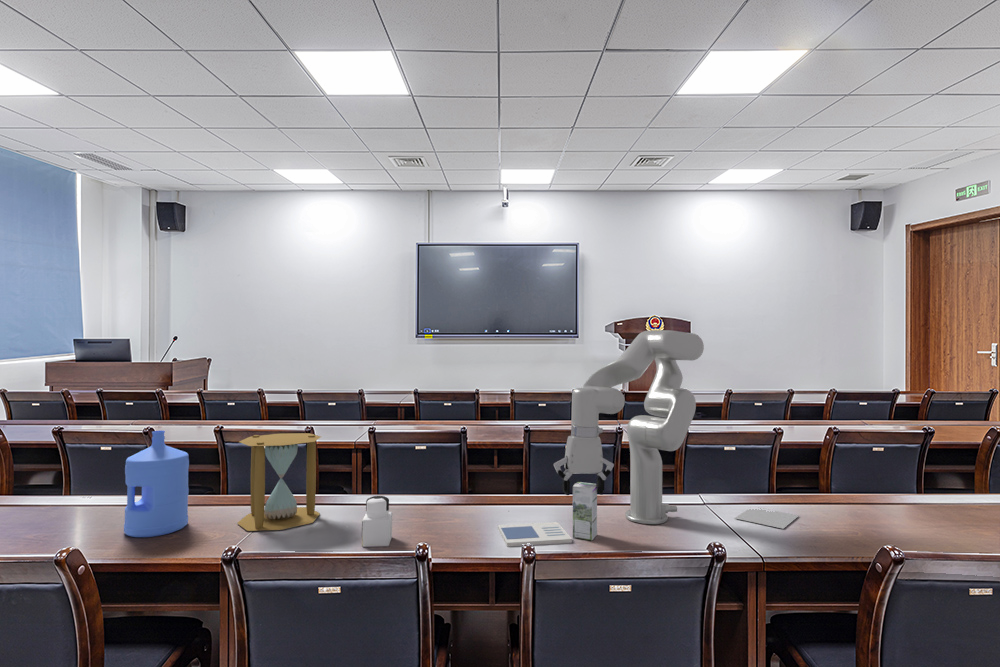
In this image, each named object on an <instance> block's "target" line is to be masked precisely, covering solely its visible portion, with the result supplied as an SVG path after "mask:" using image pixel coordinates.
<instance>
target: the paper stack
mask: <svg viewBox="0 0 1000 667" xmlns="http://www.w3.org/2000/svg"><path fill="white" fill-rule="evenodd" d="M759 508H760V509H761V508H762V507H759ZM748 509H749V508H748ZM748 509H746V510H745V511H743V512H741V513H740V514H739V515H736V516H735V517H734V519H736V520H742V521H745V522H750V523H755V524H758V525H759V524H760V525H764V526H768V527H774V528H779V529H785V528H786V527H787V526H788V525H790V524H791V523H792V522H793V521H795V520H796V519H797V518H798V517H799V516H800V515H799V514H793V513H789V512H788V513H787V512H783V511H778V510H774V511H775V512H773V511H772V512H771V511H770V512H769V511H767V512H766V510H762V509H761V510H759V509H758V510H757V509H755V510H754V509H752V510H751V509H749V510H748Z"/></svg>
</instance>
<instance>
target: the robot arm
mask: <svg viewBox="0 0 1000 667" xmlns="http://www.w3.org/2000/svg"><path fill="white" fill-rule="evenodd" d="M704 345H705V344H704V341H703V339H702V338H701V336H699V335H698V334H696V333H691V332H685V331H678V330H669V329H666V330H663V329H662V330H661V329H659V330H657V329H656V330H655V329H654V330H644V331H642V332H639V334H638V335H637V336H636V337H635V338H634V339H633V340H632V342H631V343H630V344H629V345H628V347H627V348H626V349H625V350H624V352H623V353H622V354H621V355H620V356H619V357H618V359H616V360H613V361H612V362H610V363H608V364H606V365H605V366H603V367H601V368H599V369H598V370H596V371H595V372H594V373H593V374H591V376H589V377H588V379H587V380H586V381H585V382H584V383H583V384H582V386H581V387H576V388H574V389H573V390H572V393H571V421H570V422H571V426H570V429H571V430H570V432H571V433H570V435H568V436H567V439H566V445H565V452H564V453H565V454H564V457H563V458H561V459H560V460H557V461H555V462H554V463H553V467H554V469H555V472H556V474H557V475H559V476H560V478H561V479H562V488H561V489H562V492H563V493H564V494H565V495H566V496H570V494H571V490H570V488H571V481H570V480H569V479H570V478H571V477H572V476H573V474H574V475H575V474H576V475H578V474H579V475H581V474H584V475H585V474H586V475H587V474H589V475H590V474H591V475H592V474H595V475H597V476H598V477H596V484H597V494H599V495H603V494H604V491H605V481H606V480H607V477H609V476H610V474H611V472H612V470H613V468H614V466H615V464H614V463H613V462H611V461H609V460H608V459H606V458H604V455H603V447H602V440H601V437H600V436H599V435H600V434H602V433H603V432H604V429H603V427H600V426H599V414H607V415H609V414H610V415H614V414H617V413H619V412H620V411H622V409H623V408H624V406H625V404H626V403H625V402H626V400H625V396H624V394H623V393H622V391H621V390H619V389H617V388H615V386H618V385H622V384H626V383H627V384H628V383H630V382H632V381H636V380H638V379H640V378H641V377H642V376H643V375H644V373H645V372H646V370H647V369H648V368H649V367H650V365H651V364H652V363H653V362H655V366H656V373H655V375H654V378H653V380H652V383H651V385H650V387H649V389H648V391H647V393H646V395H645V398H644V402H643V406H644V410H645V412H646V413H648V414H649V415H645V414H644V415H642V414H640V415H635V416H633V417H632V418H630V420H629V421H628V423H627V425H626V426H627V429H626V435H627V439H628V445H629V452H630V453H629V455H630V460H629V461H630V468H629V469H630V478H629V479H630V482H629V483H630V486H629V489H630V494H629V495H630V497H629V498H630V506H629V507H630V509H628V510H626V511H625V514H624V516H625V518H626V520H629V521H630V522H634V523H638V524H644V525H659V524H664V523H667V521H668V515H667V514H668V513H677V512H678V506H677V505H670V504H668V503H666V504H665V503H663V460H662V456H661V454H660V452H659V450H660V451H667V452H674V451H677V450H678V449H680V447H681V446H682V444H683V443H684V440H685V438H686V436H687V434H688V431H689V428H690V426H691V423H692V421H693V419H694V416H695V413H696V410H697V409H696V408H697V406H696V405H697V402H696V397H695V395H694V394H693V392H692V391H690V390H688V389H686V388H684V387H683V388H682V387H681V386H682V384H683V381H684V380H683V372H682V370H681V368H680V367H679V365H678V362H677V361H692V362H693V361H696V360H698V359H700V357H701V356H702V355H703V353H704V349H705V348H704V347H705V346H704ZM604 464H605V466H606V468H605V469H604ZM561 466H564V469H565V470H564V471H563V470H562V469H561ZM603 469H604V470H603Z"/></svg>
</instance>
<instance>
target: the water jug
mask: <svg viewBox="0 0 1000 667" xmlns="http://www.w3.org/2000/svg"><path fill="white" fill-rule="evenodd" d="M165 432H166V430H154V431H151V435H152V437H151V445H150V446H149V447H147V448H145V449H142V450H140V451H139V452H137V453H134V454H133V455H131V456H128V457H127V458H126V460H125V467H124V474H125V475H124V476H125V480H124V481H125V485H126V486H127V488H126V489H127V490H126V493H127V496H126V506H125V507H124V524H123V532H124V534H125V535H126V536H128V537H132V538H152V537H159V536H164V535H168V534H171V533H175V532H177V531H180V530H182V529H184V528H185V527H186V526H187V525H188V523H189V515H188V514H189V512H188V509H189V507H188V506H189V494H190V493H189V492H190V491H189V490H190V488H189V467H190V458H189V453H188V452H186V451H184V450H180V449H178V448H175V447H172V446H170V445H166V444H165V439H166V438H165V437H166V436H165ZM136 487H141V498H140V499H139V500H138V501H136V502H135V500H136V495H135V494H136Z"/></svg>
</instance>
